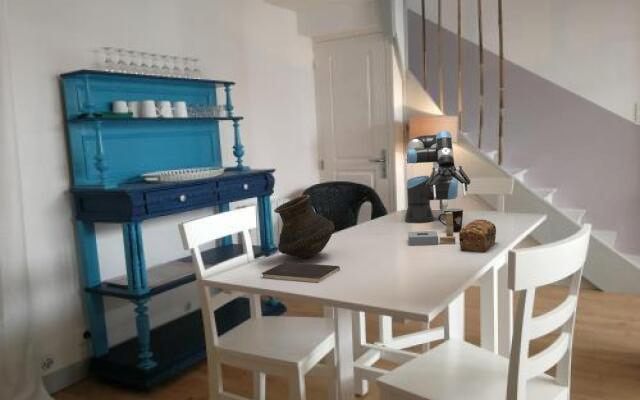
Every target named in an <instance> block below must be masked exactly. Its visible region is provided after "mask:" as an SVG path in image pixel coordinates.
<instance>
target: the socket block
mask: <svg viewBox="0 0 640 400" xmlns="http://www.w3.org/2000/svg"><path fill="white" fill-rule="evenodd" d="M407 237H408V246H411V247H412V246H434V245H436V246H437V245H439V235H438V233H437V230H423V231H408V232H407Z"/></svg>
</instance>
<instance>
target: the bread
mask: <svg viewBox="0 0 640 400" xmlns="http://www.w3.org/2000/svg"><path fill="white" fill-rule="evenodd" d="M496 235H497V227H496V225H495V223H493V222H492V221H490V220H487V219H474V220H472V221H470V222H468V223H467V224H466V225H465V226H463V228H462V229H461V230H460V232H458V236H459V237H458V238H459V239H458V240H459V249H460V250H461V251H464V252H475V253H476V252H477V253H479V252H480V253H485V252H487V251H488V250H489V249H490V248H491V247H492V246H493V245H494V244H495V243H496Z"/></svg>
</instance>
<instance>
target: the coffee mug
mask: <svg viewBox="0 0 640 400" xmlns="http://www.w3.org/2000/svg"><path fill="white" fill-rule="evenodd" d="M449 212H452V213H453V233H459V232H460V230H461V229H462V227H463V215H464V209H463V208H457V207H454V208H452V207H451V208H446V209H443V213H441V214H439V216H438V221H439V222H440V223H441V224H443V225H444V226H446V222H443V221H442V220H441V216H444V218H445V221H446V214H445V213H449Z"/></svg>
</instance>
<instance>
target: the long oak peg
mask: <svg viewBox="0 0 640 400" xmlns="http://www.w3.org/2000/svg"><path fill="white" fill-rule="evenodd" d="M444 214H446V220H445V224H446V225H445V233H446V235H445V237H449V236H454V232H453V213H452V212H449V213H444Z"/></svg>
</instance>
